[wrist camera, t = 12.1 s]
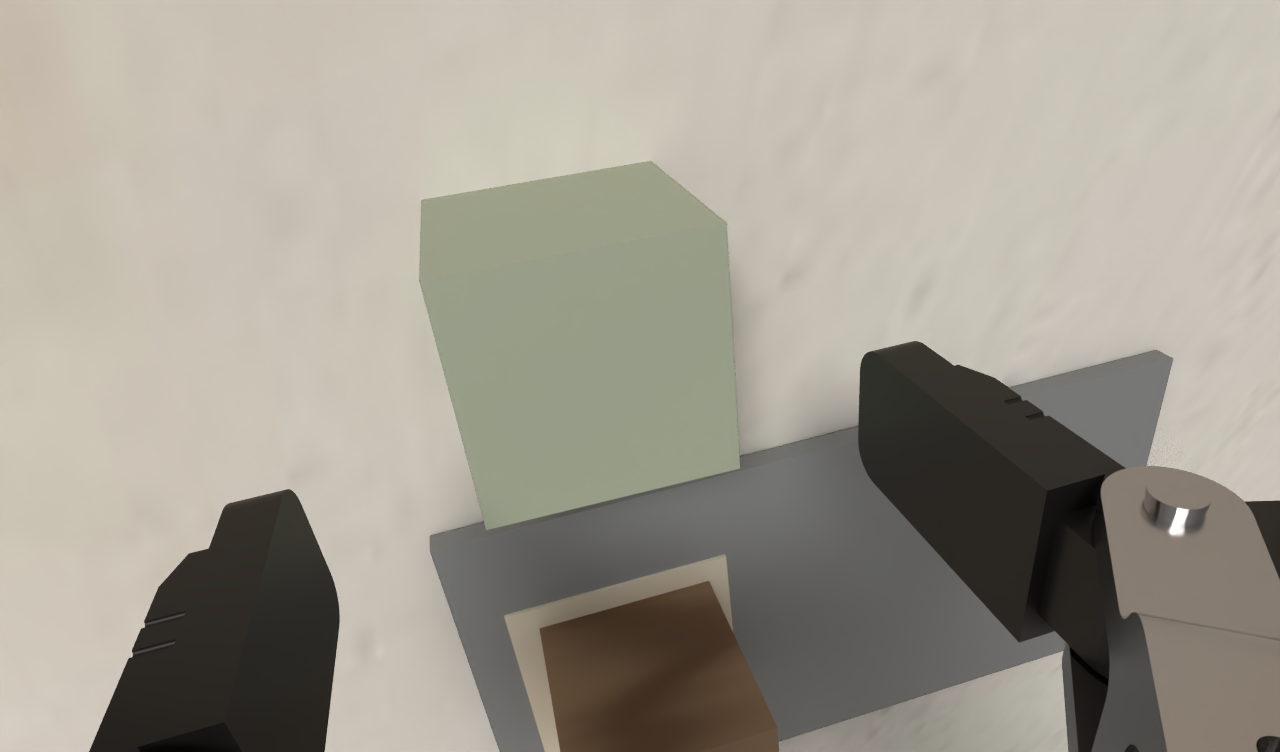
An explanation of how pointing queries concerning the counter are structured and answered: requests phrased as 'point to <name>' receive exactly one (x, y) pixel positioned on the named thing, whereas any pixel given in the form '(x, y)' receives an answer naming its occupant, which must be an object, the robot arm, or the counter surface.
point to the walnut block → (655, 679)
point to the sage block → (582, 337)
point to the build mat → (770, 572)
